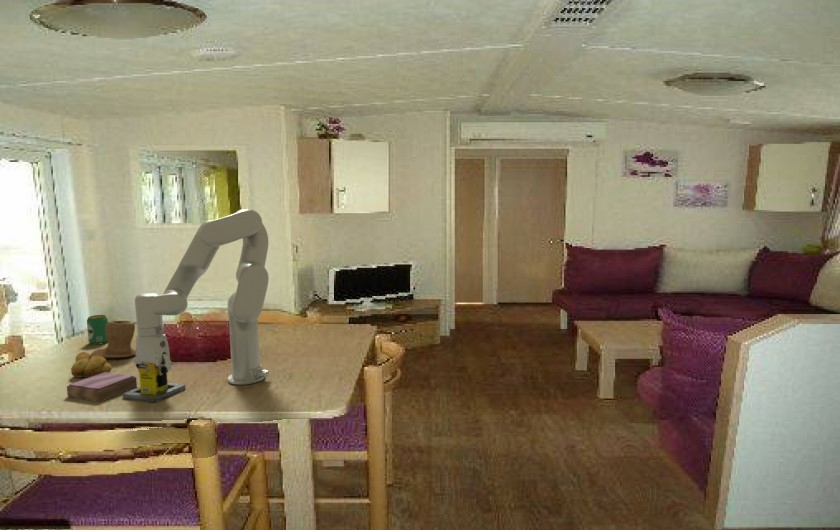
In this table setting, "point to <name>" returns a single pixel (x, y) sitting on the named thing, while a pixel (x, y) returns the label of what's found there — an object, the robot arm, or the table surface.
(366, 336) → the table surface
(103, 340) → the beverage can
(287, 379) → the table surface
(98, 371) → the bread roll
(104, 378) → the pedestal
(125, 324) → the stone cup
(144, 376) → the supplement box
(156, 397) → the frame
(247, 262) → the robot arm
